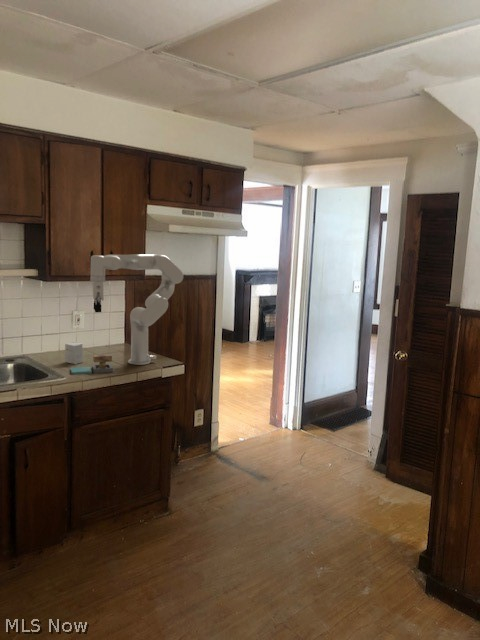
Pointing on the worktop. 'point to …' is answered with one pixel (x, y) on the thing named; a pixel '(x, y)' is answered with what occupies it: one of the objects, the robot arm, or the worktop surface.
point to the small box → (73, 353)
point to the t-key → (102, 359)
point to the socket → (102, 370)
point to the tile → (80, 370)
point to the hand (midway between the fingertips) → (97, 310)
